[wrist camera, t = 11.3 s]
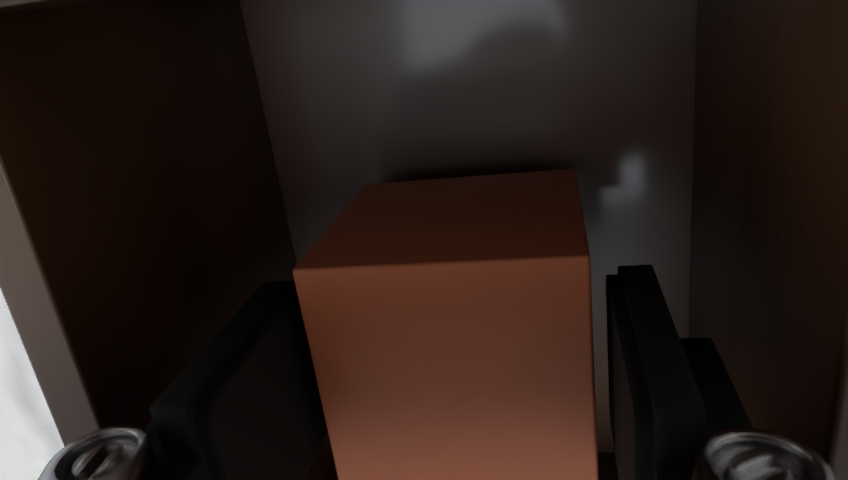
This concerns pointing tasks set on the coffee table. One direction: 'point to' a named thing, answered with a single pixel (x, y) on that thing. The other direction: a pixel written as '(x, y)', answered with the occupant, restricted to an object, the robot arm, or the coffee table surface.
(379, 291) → the block
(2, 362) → the coffee table surface
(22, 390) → the coffee table surface
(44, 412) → the coffee table surface
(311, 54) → the chest
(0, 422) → the coffee table surface
